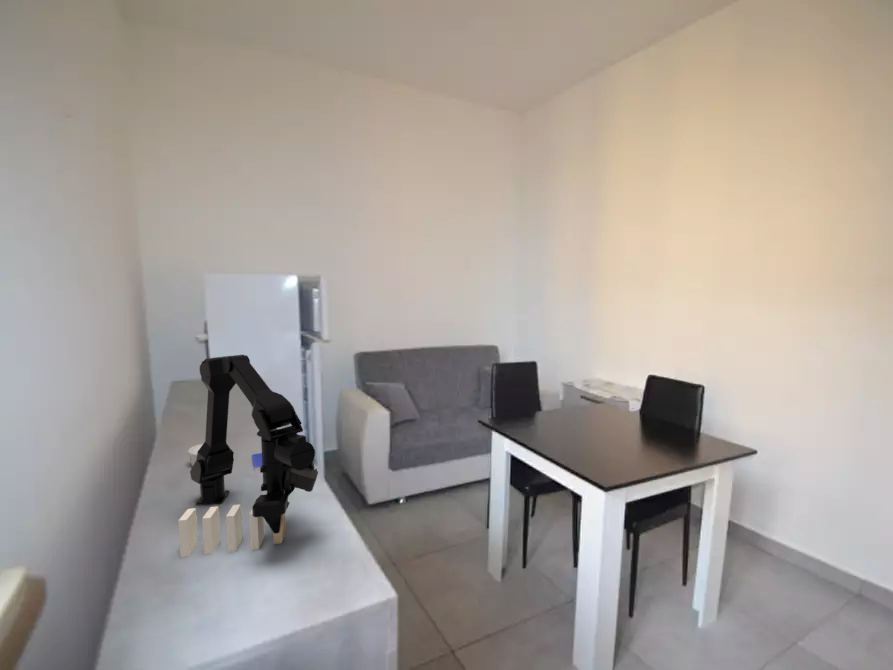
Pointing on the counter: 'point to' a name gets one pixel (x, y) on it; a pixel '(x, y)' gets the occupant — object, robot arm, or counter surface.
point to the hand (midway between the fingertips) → (279, 526)
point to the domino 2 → (211, 530)
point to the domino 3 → (234, 528)
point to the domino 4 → (256, 531)
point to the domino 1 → (188, 532)
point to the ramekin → (194, 453)
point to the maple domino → (279, 536)
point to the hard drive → (257, 461)
